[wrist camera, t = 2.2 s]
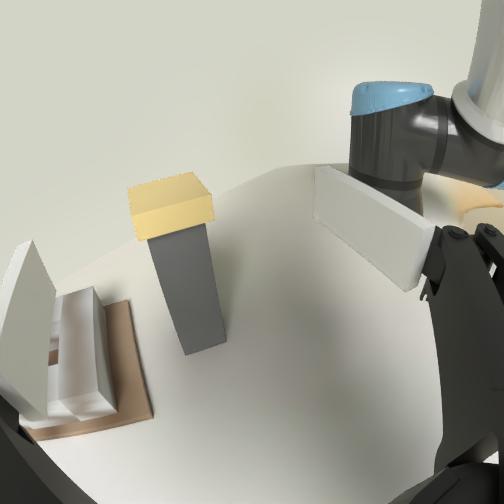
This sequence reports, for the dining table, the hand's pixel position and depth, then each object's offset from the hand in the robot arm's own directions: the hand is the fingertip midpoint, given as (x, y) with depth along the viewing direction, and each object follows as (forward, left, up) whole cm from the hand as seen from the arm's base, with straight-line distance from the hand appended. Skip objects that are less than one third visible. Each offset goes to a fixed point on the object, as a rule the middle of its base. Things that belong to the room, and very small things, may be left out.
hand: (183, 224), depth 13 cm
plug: (0, -10, -18) cm, 21 cm away
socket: (+17, -10, -18) cm, 27 cm away
